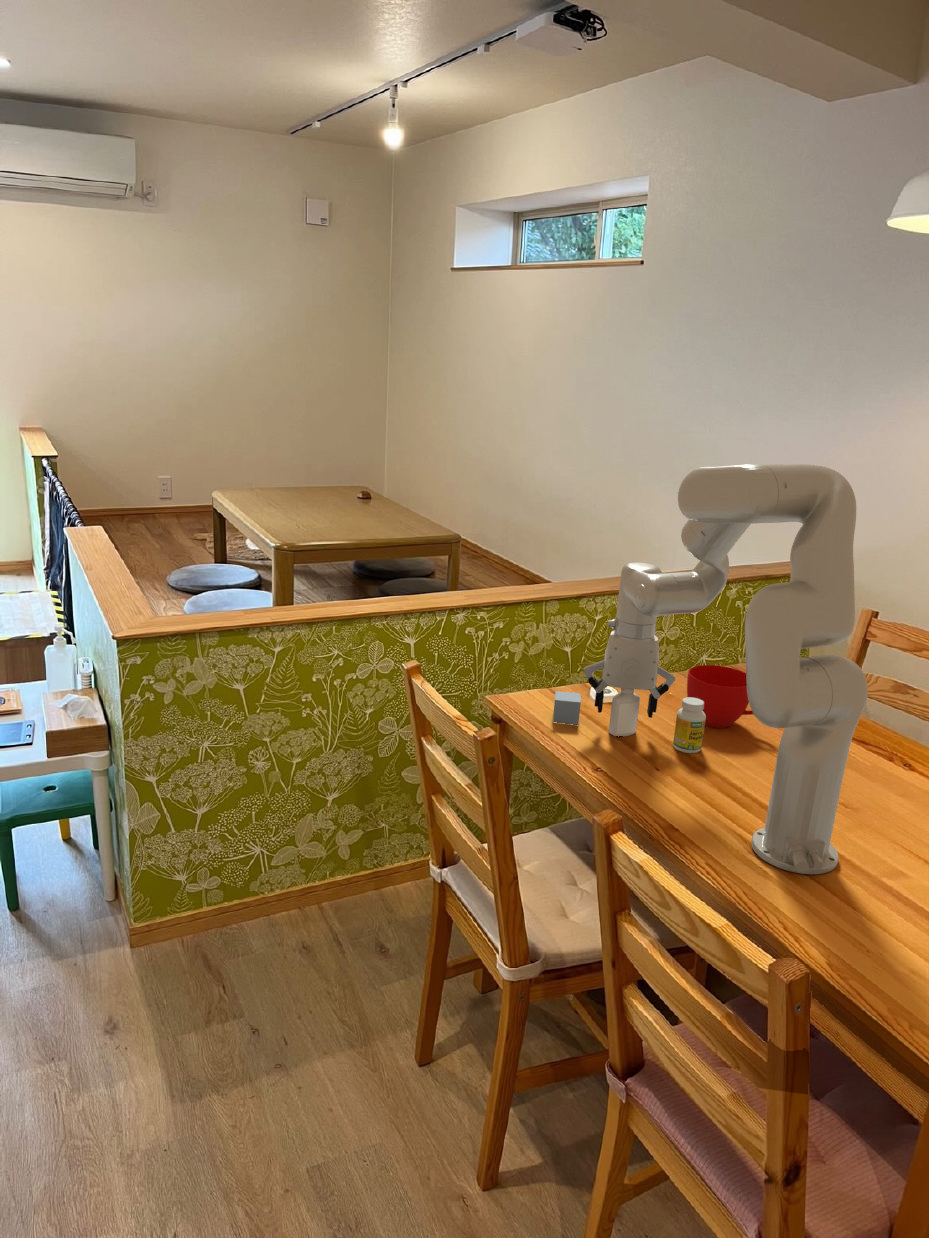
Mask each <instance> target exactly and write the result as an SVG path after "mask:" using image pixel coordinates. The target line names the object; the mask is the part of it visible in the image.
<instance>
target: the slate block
mask: <svg viewBox="0 0 929 1238" xmlns="http://www.w3.org/2000/svg"><path fill="white" fill-rule="evenodd" d="M581 695H582V694H581V692H580V693H579V692H570V691H559V690H555V694H554V705H553V715H552V717H553V718H552V723H553V722H557V723H565V724H564V725H566V724H573V725H572V726H576V725H578V726H579V721H580V712H581V702H582V697H581ZM557 723H556V724H557Z"/></svg>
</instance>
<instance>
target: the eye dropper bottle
mask: <svg viewBox="0 0 929 1238" xmlns="http://www.w3.org/2000/svg"><path fill="white" fill-rule="evenodd" d="M640 701H641V697H640V695H638V694H637V693H636V692H635V689H627V688H620V692H618V693H616V694H615V695H614V696H613V697H612V701H611V708H610V715H609V725H608V733H609V734H610V735H612V736H614V737H616V736H618V738H619V736H623V737H629V736H632V735H634V734H635V733H636V732H637V726H638V717H639V711H640V710H639V709H640Z"/></svg>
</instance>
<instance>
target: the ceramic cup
mask: <svg viewBox="0 0 929 1238" xmlns="http://www.w3.org/2000/svg"><path fill="white" fill-rule="evenodd" d="M686 695H687V696H686V698H687V697H692V698H697V699H700V700H702V701H703V702H704V709H703V710H702V711H703V712H704V713H705V715H706V720H705V726H706V727H711V728H717V729H724V728H728V727H730V726H731V725H732V724H734V723H736V721H738V720H739V719H740V718H741V717H742V716H746V715H747V716H751V715H754V714H753V712H752V710H746V709H747V708H748V705H750V704H749V700H748V694H747V680H746V671H742V670H739V669H737V668H733V667H729V666H722V665H715V664H703V665H701V664H700V665H696V666H693V667H691V668H690V669H688V672H687V682H686Z"/></svg>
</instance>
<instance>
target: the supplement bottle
mask: <svg viewBox="0 0 929 1238" xmlns="http://www.w3.org/2000/svg"><path fill="white" fill-rule="evenodd" d="M703 709H704V702H703V701H702V700H700V699H697V698H692V697H687V696H686V697H684V698H682V700H681V708H679V709H678V710H677V713H676V720H675V727H674V733H673V742H672V746H673V748H674V749H675V750H677V751H679V752H681V753H686V754H696V753H699V752H701V750H702V746H703V740H704V733H705V726H706V725H705V720H706V715H705V713H704V712H703V711H702V710H703Z"/></svg>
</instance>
